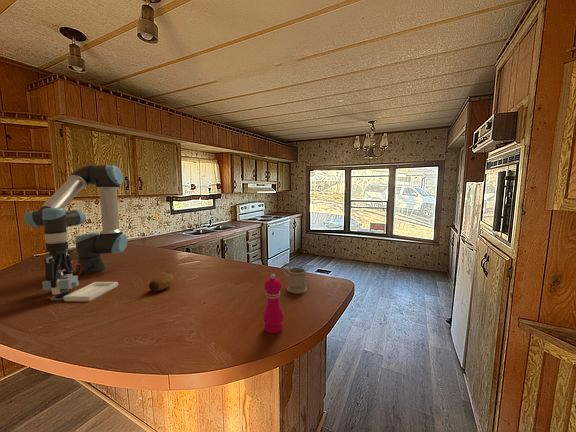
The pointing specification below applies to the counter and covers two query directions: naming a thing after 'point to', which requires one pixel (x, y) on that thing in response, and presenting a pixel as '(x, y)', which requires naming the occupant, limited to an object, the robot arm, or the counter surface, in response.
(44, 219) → the robot arm
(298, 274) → the mug
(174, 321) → the counter surface
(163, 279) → the potato
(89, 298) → the tray
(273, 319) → the pepper mill
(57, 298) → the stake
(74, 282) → the windowed blue block
